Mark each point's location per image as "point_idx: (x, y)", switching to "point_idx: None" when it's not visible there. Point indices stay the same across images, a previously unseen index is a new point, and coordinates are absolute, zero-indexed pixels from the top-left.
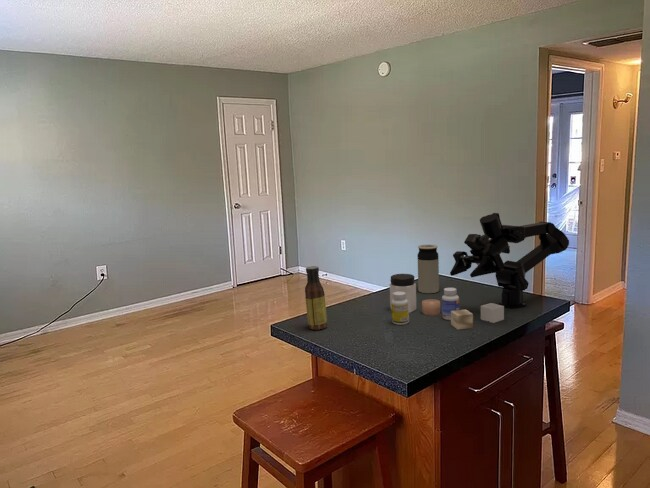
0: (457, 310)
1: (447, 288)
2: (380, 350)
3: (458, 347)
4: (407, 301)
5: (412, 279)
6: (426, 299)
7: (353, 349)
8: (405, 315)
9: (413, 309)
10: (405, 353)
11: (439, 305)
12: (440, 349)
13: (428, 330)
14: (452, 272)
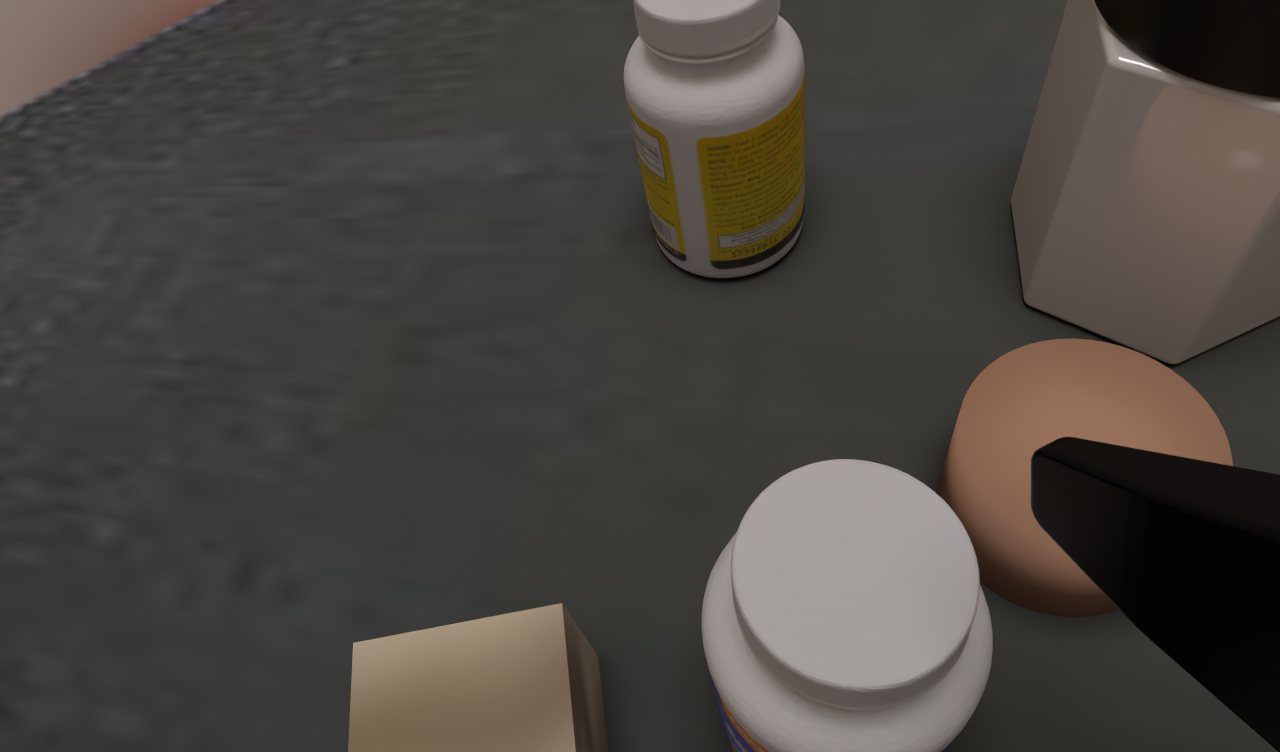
0: (562, 699)
1: (907, 524)
2: (214, 128)
3: (8, 592)
4: (675, 113)
5: (1234, 5)
6: (1201, 397)
7: (287, 22)
8: (652, 199)
9: (1100, 324)
10: (103, 242)
11: (1031, 557)
12: (47, 450)
13: (472, 415)
14: (1083, 498)
